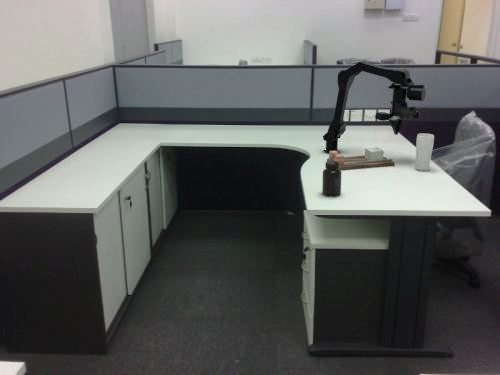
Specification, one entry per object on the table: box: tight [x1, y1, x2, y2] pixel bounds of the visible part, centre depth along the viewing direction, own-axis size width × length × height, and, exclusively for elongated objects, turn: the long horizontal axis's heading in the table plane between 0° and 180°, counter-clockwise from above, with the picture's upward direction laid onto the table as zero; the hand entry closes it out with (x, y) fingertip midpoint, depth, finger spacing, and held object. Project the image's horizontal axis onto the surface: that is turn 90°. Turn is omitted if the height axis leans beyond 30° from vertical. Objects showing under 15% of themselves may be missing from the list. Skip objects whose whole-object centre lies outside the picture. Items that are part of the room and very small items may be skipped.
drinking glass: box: [415, 133, 435, 172], centre depth 197 cm, size 7×7×15 cm
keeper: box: [364, 147, 385, 161], centre depth 209 cm, size 6×6×4 cm
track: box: [326, 151, 395, 171], centre depth 208 cm, size 14×26×6 cm, turn 102°
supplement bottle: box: [321, 160, 342, 197], centre depth 171 cm, size 7×7×12 cm
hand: (396, 134), depth 208 cm, fingers closed
